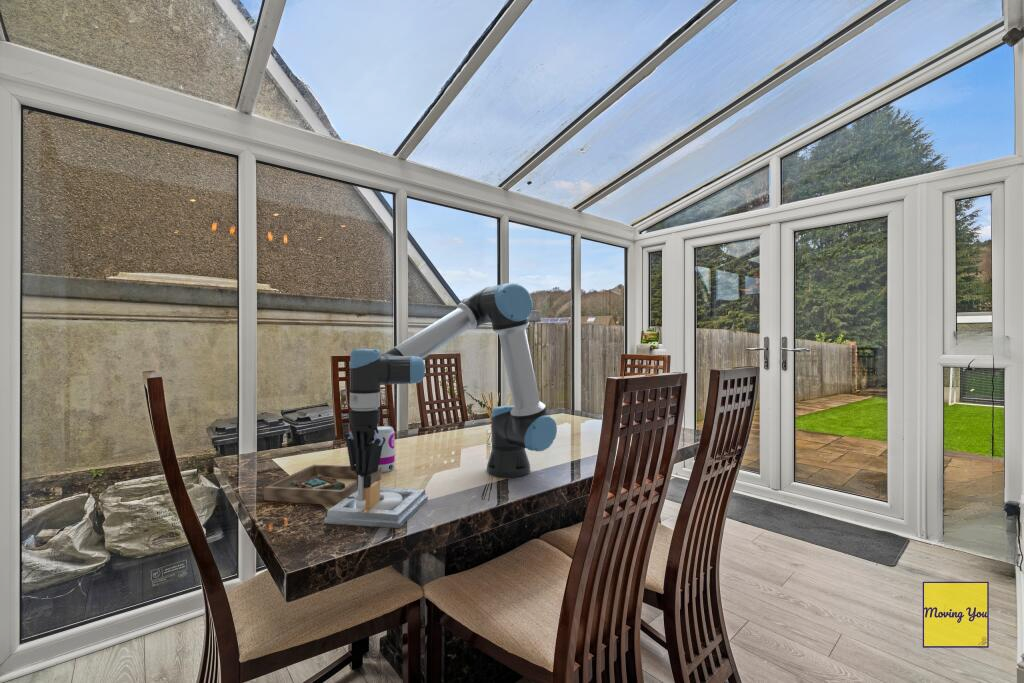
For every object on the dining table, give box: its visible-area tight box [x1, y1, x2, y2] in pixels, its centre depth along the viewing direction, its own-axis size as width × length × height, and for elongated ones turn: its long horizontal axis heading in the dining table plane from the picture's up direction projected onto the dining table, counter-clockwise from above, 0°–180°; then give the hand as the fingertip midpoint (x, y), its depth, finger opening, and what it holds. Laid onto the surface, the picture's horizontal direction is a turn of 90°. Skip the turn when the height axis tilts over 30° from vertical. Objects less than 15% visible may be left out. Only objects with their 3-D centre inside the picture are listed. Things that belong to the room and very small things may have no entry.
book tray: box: [263, 463, 383, 506], centre depth 142 cm, size 24×24×4 cm
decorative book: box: [291, 475, 346, 490], centre depth 140 cm, size 13×18×5 cm
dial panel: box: [323, 486, 429, 529], centre depth 125 cm, size 20×20×3 cm
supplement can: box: [377, 425, 396, 473], centre depth 163 cm, size 8×8×15 cm
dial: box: [356, 480, 402, 510], centre depth 124 cm, size 13×12×7 cm
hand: (363, 499), depth 120 cm, fingers closed
